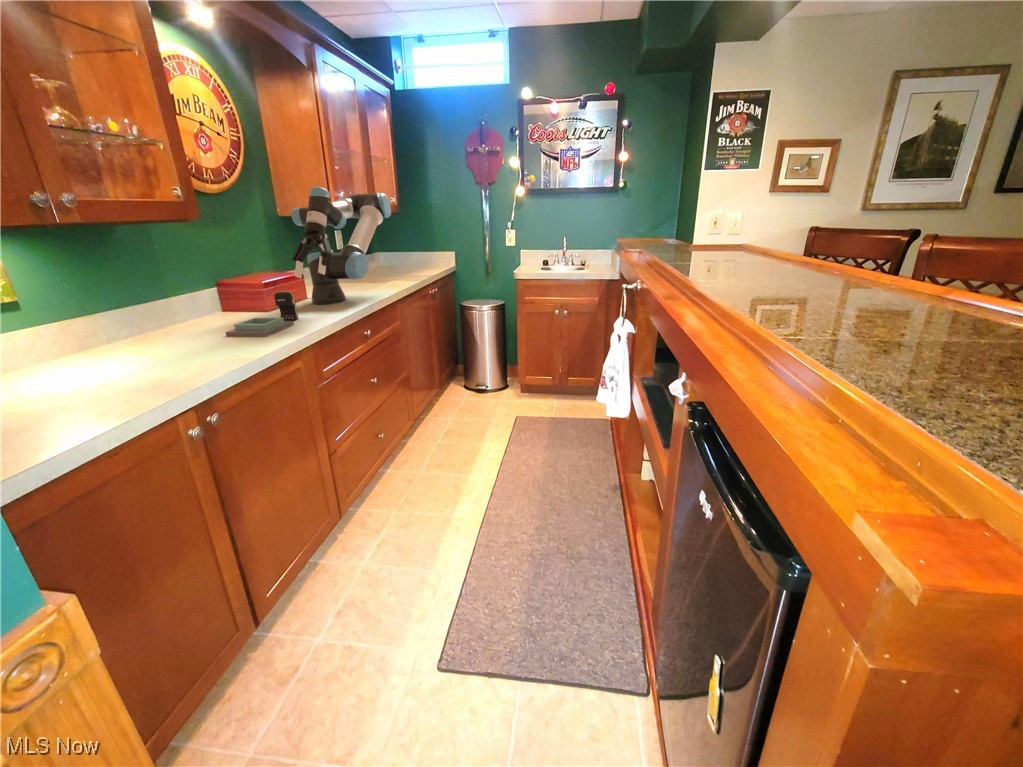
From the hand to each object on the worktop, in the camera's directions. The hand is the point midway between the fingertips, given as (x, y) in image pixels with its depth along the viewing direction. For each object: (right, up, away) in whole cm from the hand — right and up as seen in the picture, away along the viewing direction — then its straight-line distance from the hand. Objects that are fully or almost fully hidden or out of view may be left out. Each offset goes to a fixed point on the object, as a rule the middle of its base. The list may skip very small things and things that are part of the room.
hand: (309, 275), depth 174 cm
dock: (-12, -23, -13) cm, 29 cm away
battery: (-9, -18, +1) cm, 20 cm away
